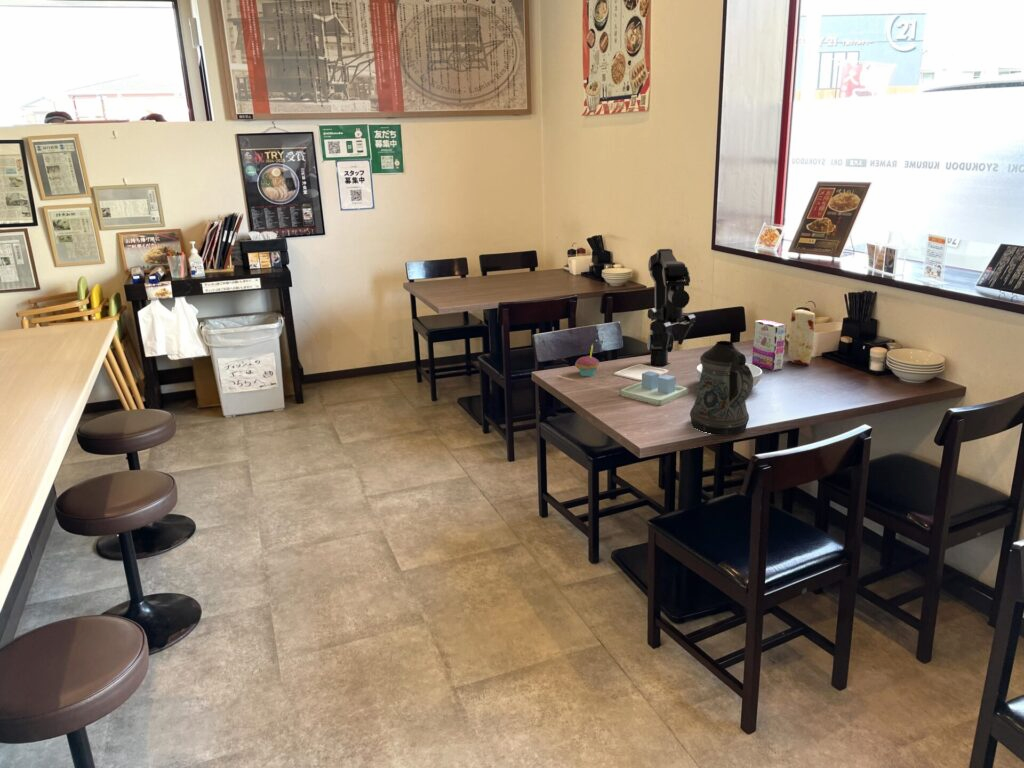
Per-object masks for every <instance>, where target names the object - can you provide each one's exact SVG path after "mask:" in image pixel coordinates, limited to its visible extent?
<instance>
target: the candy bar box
mask: <svg viewBox="0 0 1024 768" xmlns="http://www.w3.org/2000/svg"><path fill="white" fill-rule="evenodd" d="M786 336H787V324H784V323H780V322H777V321H776V322H775V321H772V320H769V319H759V320H754V330H753V342H752V343H753V345H752V359H751V364H752V365H754V364H755V365H754V366H757V365H758V366H757V367H760V366H761V368H763V367H764V368H763V369H766V368H767V370H769V369H770V370H769V371H772V370H773V372H774V370H776V371H780V370H779V369H781V370H783V369H784V362H785V361H784V360H785V359H784V358H785V350H786V349H785V348H786V347H785V346H786V338H787V337H786Z"/></svg>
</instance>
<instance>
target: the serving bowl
mask: <svg viewBox="0 0 1024 768" xmlns="http://www.w3.org/2000/svg"><path fill="white" fill-rule="evenodd" d="M745 365H747V366H748V367H749V369H750V371H751V373H752V376H753V387H752V389H753V388H754V387H756V386H757V385H758V384H759V382H760V381H761V378H762V374H763V370H762V369H761V368H760V366H757V365H754V364H752V363H747V362H746V363H745ZM701 372H702V364H701V363H700V364H698V365H697V366H696V374H697V377H698V381H700V377H701Z"/></svg>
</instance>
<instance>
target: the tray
mask: <svg viewBox="0 0 1024 768" xmlns="http://www.w3.org/2000/svg"><path fill="white" fill-rule="evenodd" d="M618 391H619V393H618V394H619V395H618V396H620V395H621V396H620V397H624V396H625V398H628V397H629V399H632V400H635V399H636V400H637V401H639V400H640V402H643V403H644V402H645V403H647V402H648V403H647V404H652V405H655V406H659V407H660V406H663V405H666V404H667V403H670V402H671V401H674V400H676V399H678V398H681V397H683V396H686V395H687V394H689V387H684V386H681V385H678V384H677V385H676V384H675V392H672V393H670V394H664V393H661V392H658V388H656V389H654V390H648V389H644V388H642V381H638V382H637V383H634V384H631V385H629V386H626V387H624V388H622V389H619V390H618ZM636 400H635V401H636Z"/></svg>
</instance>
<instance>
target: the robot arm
mask: <svg viewBox="0 0 1024 768" xmlns="http://www.w3.org/2000/svg"><path fill="white" fill-rule="evenodd" d="M647 264H648V265H647V267H648V268H647V269H648V272H649V276H650V277H651V279H652V281H653V283H654V307H653V308H650V309H648V310H647V318H648V319H650V320H651V323H650V324H649V330H650V332H649V333H650V334H649V335H648V338H647V342H646V346H647V347H646V348H647V350H648V351H649V352H650V362H648V363H647V366H652V367H657V368H663V367H666V366H668V365H671V364H672V363H671V362H669V358H668V357H669V355H668V354H669V351H673V349H674V343H675V337H674V335H673V333H672V332H673V331H672V328H673V326H675V327H676V330H677V344H678V345H679V346H680V345H682V344H683V343H684V341H685V339H686V337H687V335H688V333H689V331H690V329H692V327H693V326H694V324H695V323H696V318H697V317H696V315H695V314H694V313H687V312H683V309H684V308H686V306H688V305H689V303H690V300H691V299H690V298H691V297H690V295H689V292H687V291H686V290H685V287H690V283H691V277H690V271H689V269H688V267H687V266H686V264H685V263H684V262H682V261H678V260H677V259H676V257H675V255H674V254H673V248H672V249H670V248H659V249H657V250H656V252H655V253H654V254H652V255H651V256H650V257H649V260H648V262H647Z"/></svg>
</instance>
